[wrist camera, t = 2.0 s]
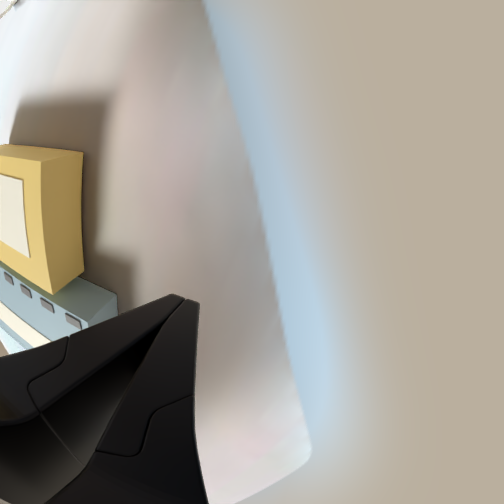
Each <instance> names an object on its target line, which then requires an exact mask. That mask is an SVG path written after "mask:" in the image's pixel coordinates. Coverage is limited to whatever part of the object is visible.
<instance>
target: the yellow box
mask: <svg viewBox="0 0 504 504" xmlns="http://www.w3.org/2000/svg"><path fill="white" fill-rule="evenodd" d="M82 165H83V152H77V151H70V150H62V149H54V148H45V147H35V146H24V145H12V144H4V145H0V260H1V261H2V262H3V263H5V264H6V265H7V266H9V267H10V268H12V269H13V270H15V271H16V272H17V273H19V274H20V275H22V276H23V277H25V278H26V279H28V280H29V281H31V282H32V283H34V284H36V285H37V286H39V287H40V288H42V289H44V290H45V291H47V292H48V293H50V294H52V295H54V294H55V293H56V292H58V291H59V290H60V289H61V288H63V287H64V286H65V285H67V284H68V283H69V282H70V281H72V280H73V279H74V278H76V277H77V276H78V275H80V274H81V273H82V272H84V262H83V249H82V229H81V184H82Z"/></svg>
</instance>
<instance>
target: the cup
mask: <svg viewBox="0 0 504 504" xmlns="http://www.w3.org/2000/svg"><path fill="white" fill-rule="evenodd" d="M6 1H10V0H6ZM16 2H17V0H11V3H10V5H9V6H8V7H7V8H6V10H5V11H4V12H3V13H2V14H1V15H0V19H1V18H2V17H3V16H4V15H5V14H6V13H7V12H8V11H9V10H10V9H11V8H12V6H13V5H14V4H15V3H16Z"/></svg>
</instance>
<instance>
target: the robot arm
mask: <svg viewBox="0 0 504 504" xmlns="http://www.w3.org/2000/svg"><path fill="white" fill-rule="evenodd" d="M199 310H200V304H199V303H198V302H196V301H193V300H190V299H186V300H185V298H184V297H181V296H178V295H175V294H169V295H167V296H165V297H162V298H160V299H157V300H155V301H152V302H150V303H147V304H145V305H142V306H140V307H138V308H135V309H133V310H130V311H128V312H125V313H123V314H120V315H118V316H115V317H113V318H110V319H108V320H105V321H103V322H100V323H98V324H95V325H93V326H90V327H88V328H85V329H83V330H80V331H78V332H75V333H73V334H70V335H69V336H65V337H62V338H60V339H57V340H55V341H52V342H49V343H47V344H44V345H41V346H38V347H35V348H31V349H28V350H25V351H21V352H18V353H14V354H10V355H6V356H3V357H0V504H209V503H208V499H207V494H206V490H205V485H204V480H203V476H202V471H201V466H200V460H199V455H198V449H197V441H196V434H195V377H196V356H197V339H198V323H199Z"/></svg>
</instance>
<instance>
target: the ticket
mask: <svg viewBox="0 0 504 504" xmlns="http://www.w3.org/2000/svg"><path fill="white" fill-rule="evenodd" d="M115 316H118V308H117V295H116V294H115V293H113V292H110V291H108V290H106V289H104V288H101V287H99V286H97V285H95V284H93V283H91V282H88V281H86V280H84V279H82V278H80V277H78V276H77V277H76V278H74V279H73V280H72V281H70V282H69V283H68V284H67V285H65V286H64V287H63V288H61V289H60V290H59V291H58V292H56V293H55V294H54V295H52V294H50V293H48V292H47V291H45V290H44V289H42V288H40V287H39V286H37V285H36V284H34V283H32V282H31V281H29V280H28V279H26V278H25V277H23V276H22V275H20V274H19V273H17V272H16V271H15V270H13V269H12V268H10V267H9V266H7V265H6V264H5V263H3V262H2V261H1V260H0V327H1V328H2V329H3V330H4V331H5V332H7V333H8V334H9V335H10V336H11V337H12V338H13V339H14V340H15V341H17V342H18V343H19V344H20V345H21V346H22V347H24V348H25V349H26V350H28V349H31V348H35V347H38V346H41V345H44V344H47V343H49V342H52V341H55V340H57V339H60V338H62V337H65V336H69V335H70V334H73V333H75V332H78V331H80V330H83V329H85V328H88V327H90V326H93V325H95V324H98V323H100V322H103V321H105V320H108V319H110V318H113V317H115Z"/></svg>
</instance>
